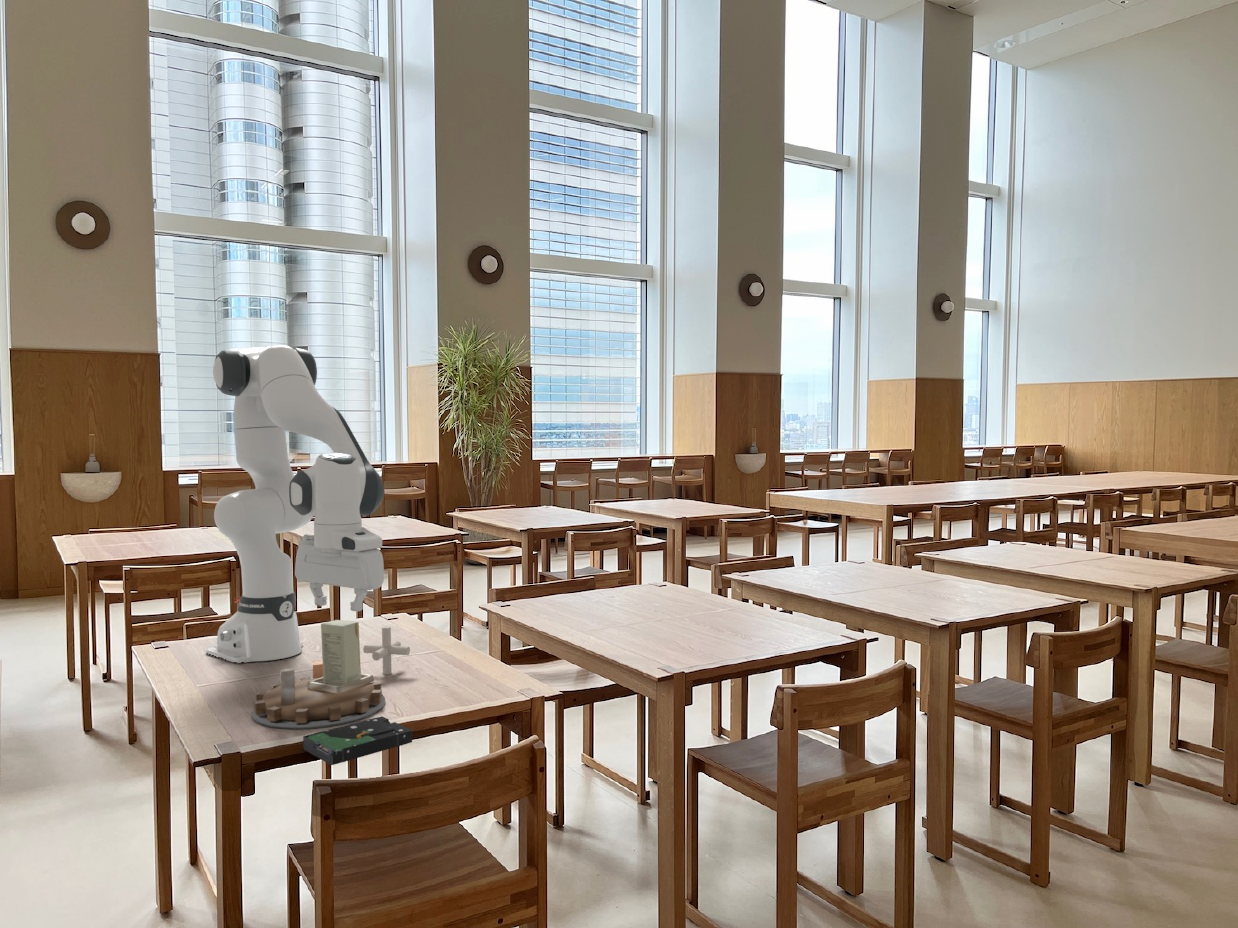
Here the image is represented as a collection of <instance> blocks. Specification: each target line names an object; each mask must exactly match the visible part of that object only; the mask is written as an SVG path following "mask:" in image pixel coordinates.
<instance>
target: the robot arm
mask: <svg viewBox="0 0 1238 928" xmlns="http://www.w3.org/2000/svg"><path fill="white" fill-rule="evenodd" d="M213 363H214V364H213V369H212V375H213V379H214V381H215V385H216V387H217V389H218V390H219V391H220V392H221V393H222V394H224V395H225V396H231V397H234V404H233V432H234V445H235V457H236V458H235V460H236V462H237V464H238V466H239V467H240V468H241V469H242V470H243V471H246V472H247V474H249V476H250V478H251V479H252V482H253V485H254V486H255V488H251V489H241V490H238V491H235V492H231V493H229V494H227V495H225V496H222V497H221V498H219V500H218V501H217V503H216V504H215V507H214V513H213V520H214V523H215V525H216V527H217V529H218V531H219V532H220V533H221V534H222V535H224V536H225V537H226V538H227V539H229V541H230V542H231V543H232V545H233V547H234V549H235V551H236V553H237V556H238V557H239V558H238V559H239V563H240V567H241V568H240V569H241V584H242V585H241V587H242V594H241V596H238V597H235V598H234V600H236V601H234V603H235V604H237V603H238V606H237V609H236V610H237V611H236V612H235V613H234V614H233V615H231V616H230V617H229V618H228V619H227V620H226V621H225V622H224V623H222V624H221V625H220V626H219V627H218V630H217V636H216V638H217V639H216V644H215V645H213V646H210V647H208V648H206V651H205V653H209V654H211V655H210V656H212V655H214V656H213V657H215V656H216V658H218V657H222V658H224V659H223V660H225V659H226V660H225V661H228V662H231V663H234V662H237V663H236V664H242V663H241V662H244V663H250V662H251V663H252V662H268V661H275V660H280V659H287V658H290V657H293V656H296V655H298V654H301V653H302V651H303V649H302V648H303V640H300V631H299V624H298V623H299V621H298V616H297V612H295V608H296V601H297V599H296V592H295V591H294V576H295V578H296V579H297V581H299V582H306V583H309V589H310V591H311V593H312V595H313V598H314V606H317V607H323V606H326V605H327V599H328V596H327V595H324V592H323V589H322V588H323V587H324V585H325V586H326V585H328V586H334V587H342V588H348V589H353V593H354V594H355V597H354V600H353V601H350V604H349V605H350V612H360V611H362V610H363V608H364V607H363V606H364V605H363V603H364V600H365V598H366V596H368V591H373V590H377V589H380V588H381V586H382V585H383V584H384V580H385V569H384V566H385V565H384V556H383V553H382V551H381V550H380V549H379V548H382V547H383V538H382V537H381V536H380V535H377V534H376V533H374V532H372V531H371V530H368V529H367V528H365V527H364V526H362V521H363V520H362V516H370V515H371V514H372V513H374V512H375V511H376V510H377V509H378V508H379V506H380V505H381V504H382V502H383V501H384V497H385V486H384V482H383V479H382V477H381V476H380V474H379V473H378V472H377V470H376V469H375V468H374V466H372V464H371V463H370V462H369V459H368V458H367V457H366V455H365V453H364V451H363V449H362V447H361V446H360V444H359V441H358V440H357V439H356V437H355V435H354V433H353V431H352V430H351V428H350V426H349V424H348V423H347V421H346V419H345V417H344V416H343V414H342V413H341V412H340V411H339V410H338V409H337V408H335V407H334V406H331V405H330V404H329V403H328V402H327V401H326V400H325V399H324V398H323V396H322V395H321V394H320V393H319V392H318V390H317V388H316V386H315V385H316V383H317V379H318V378H317V377H318V368H317V362H316V359H315V357H314V356H313V354H312V353H311V352H310V351H308V350H306V349H302V348H297V347H291V346H289V345H285V344H284V345H283V344H279V345H272V346H263V347H247V348H237V347H232V348H228V349H227V348H226V349H224V350H223V349H222V350H221V351H220V352H219V353H217V355H216V356H215V358H214V362H213ZM286 432H290V433H295V434H297V435H303V436H307V437H309V438H313V439H316V440H318V441H320V442H323V443H324V444H326V445H327V446H328V447H329V448H330V449H331V450H332V452H326V453H322V454H319V455H318V456H317V457H316V459H315V463H314V464H313V465H311V466H310V467H309V468H306V469H303V470H299V471H298V472H297V473H296V474H294V472H293V469H292V466H291V464H290V460H289V455H288V448H287V447H288V445H287V444H288V443H287V435H286V434H287V433H286ZM313 517H314V520H313V534H309V533H306V534H304V535H303V536H302V537H300V539H299V540H298V547H297V550H296V556H295V565H294V566H295V567H293V561H292V558H291V557H290V555H288V554H287V553H285V552H283V551H282V550H281V548H280V547H279V544H278V541H277V535H276V534H282V533H289V532H293V531H296V530H298V529H300V528H302V527H304V526H306V525H308V524H309V523H310V522H311V520H312V519H313ZM293 568H294V569H293ZM293 570H294V571H293ZM293 574H294V575H293ZM209 654H208V655H209Z"/></svg>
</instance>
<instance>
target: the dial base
mask: <svg viewBox="0 0 1238 928" xmlns="http://www.w3.org/2000/svg"><path fill="white" fill-rule="evenodd" d="M385 705H386V698H385V695H383V694H382V701H381V703H380V704H371V705H369V711H366V712H364V713H358V712H354V713H351V714H348V715H344V716H341V719H338V720H332V721H331V720H330V719H329V718H328V719H320V720H308V721H307V723H295V720H283V719H281V720H278V721H275V722H273V721H268V720H267V715H266V714H261V715H256V714H255V713H254V707H253V708H252V710H251V719H252V720H253V721H254V722H255V723H257V724H258V725H261V726H263V727H268V728H272V729H281V730H311V729H323V728H330V727H337V726H341V725H342V726H343V725H346V724H347V725H348V724H350V723H351V724H352V723H356V722H357V721H361V720H364V719H367V718H368V717H369V718H370V716H373V715H375V714H378V712H379V711H382V709H383V708H384V707H385Z"/></svg>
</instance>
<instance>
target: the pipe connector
mask: <svg viewBox="0 0 1238 928" xmlns="http://www.w3.org/2000/svg"><path fill="white" fill-rule="evenodd" d="M391 631H392V629H391V626H390V625H387V626H386V625H385V626H382V627H381V639H382V643H381V644H382V645H379V644H377V645H376V644H364V645H363V648H362V649H363V653H364V654H371V657H372V659H373V660H374V661H379V660H381V659H382V674H383V675H390V674H392V672H393V671H392V670H393V669H392V655H398V656H399V655H400V656H409V655H410V652H411V647H410V646H405V645H404V646H403V645H402V644H401V642H400V641H399V640H394V641H393V642H392V632H391Z"/></svg>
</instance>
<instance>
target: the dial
mask: <svg viewBox="0 0 1238 928" xmlns="http://www.w3.org/2000/svg"><path fill="white" fill-rule="evenodd" d="M279 675H280V682H279V683H276V684H273V685H272V689H270V690H268V691H259V692H258V693H256V694H255V696H256V697H255V699H256V700H254V701H253V704H254V705H253V708H254V713H255V714H256V715H261V714H266V715H267V720H268V721H273V722H275V721H278V720H281V719H283V720H295V723H307V721H308V720H320V719H328V718H329V719H330V720H331V721H332V720H338V719H341V716H344V715H348V714H351V713H354V712H358V713H364V712H366V711H369V705H371V704H380V703H381V701H382V695H383V690H382V684H381V682H379V681H374V675H373V674H366V673H362V672H361V679H358V680H355V681H353V682H350V683H347V684H344V685H341V686H334V685H328V684H324V682H323V677H321V678H316V679H313V678H311V677H309V676H308V677H301V678H300V679H299V680H298V681H296V680H295V679H296V678H295V675H296V674H295V669H294V668H285V669H281V670H280V673H279Z"/></svg>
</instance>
